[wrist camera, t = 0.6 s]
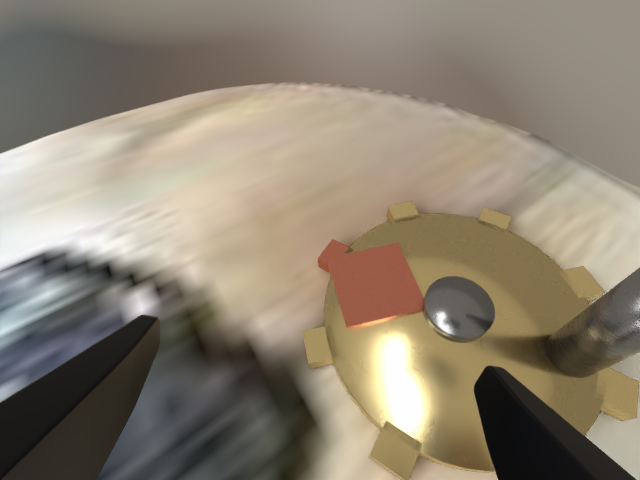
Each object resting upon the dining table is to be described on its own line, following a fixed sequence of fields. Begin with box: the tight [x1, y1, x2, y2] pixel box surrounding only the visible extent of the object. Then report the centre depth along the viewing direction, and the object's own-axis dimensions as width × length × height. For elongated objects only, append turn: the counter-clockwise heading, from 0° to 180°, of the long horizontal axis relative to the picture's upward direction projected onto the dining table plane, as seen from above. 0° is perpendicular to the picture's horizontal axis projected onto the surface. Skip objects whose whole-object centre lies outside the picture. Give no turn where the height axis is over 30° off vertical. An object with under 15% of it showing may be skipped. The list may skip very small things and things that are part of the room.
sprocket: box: [302, 201, 640, 480], centre depth 20 cm, size 21×21×10 cm
